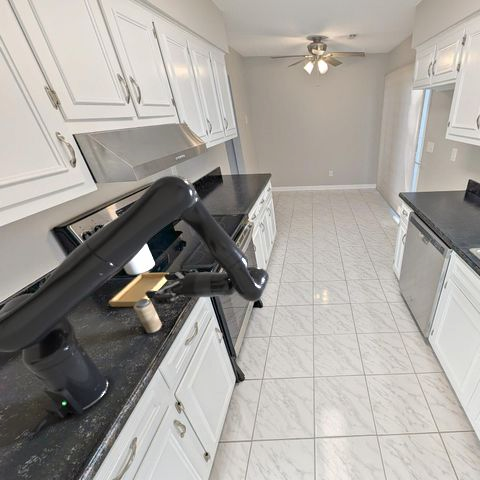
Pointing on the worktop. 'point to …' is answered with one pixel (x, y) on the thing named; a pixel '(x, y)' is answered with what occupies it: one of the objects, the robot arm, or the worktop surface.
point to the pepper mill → (147, 315)
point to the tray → (138, 289)
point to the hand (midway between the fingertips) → (156, 285)
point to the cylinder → (139, 261)
